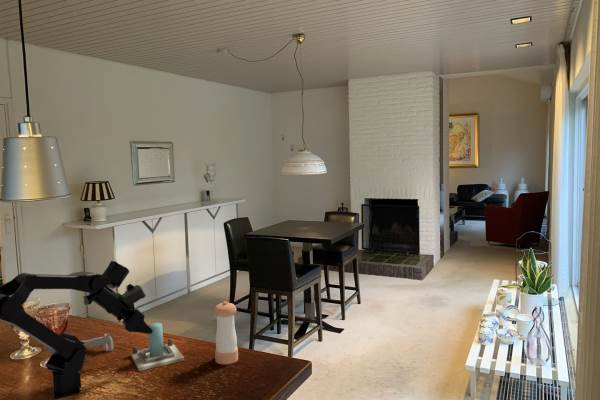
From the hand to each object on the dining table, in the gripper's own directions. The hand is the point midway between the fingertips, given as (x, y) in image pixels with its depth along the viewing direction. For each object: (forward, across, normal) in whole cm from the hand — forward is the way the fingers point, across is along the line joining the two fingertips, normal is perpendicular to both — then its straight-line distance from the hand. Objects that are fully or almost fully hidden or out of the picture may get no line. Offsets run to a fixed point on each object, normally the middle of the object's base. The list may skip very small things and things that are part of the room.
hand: (147, 327), depth 149 cm
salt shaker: (+22, -14, -7) cm, 27 cm away
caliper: (-3, +21, +19) cm, 29 cm away
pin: (+9, 0, +5) cm, 10 cm away
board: (+9, 0, +6) cm, 11 cm away
